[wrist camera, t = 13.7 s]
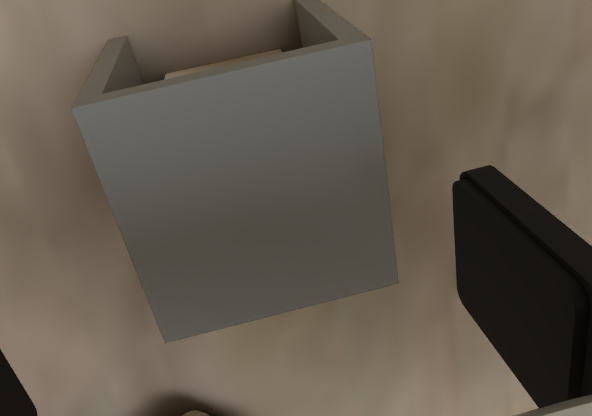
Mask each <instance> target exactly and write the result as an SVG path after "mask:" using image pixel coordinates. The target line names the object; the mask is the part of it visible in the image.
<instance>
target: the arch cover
mask: <svg viewBox="0 0 592 416" xmlns="http://www.w3.org/2000/svg"><path fill="white" fill-rule="evenodd" d="M294 1H295V7H296V13H297V19H298V24H299V30H300V36H301V41H302V47H303V48H300V49H296V50H291V51H287V52H283V53H278V54H274V55H270V56H265V57H261V58H257V59H252V60H248V61H243V62H239V63H235V64H230V65H226V66H222V67H217V68H213V69H209V70H204V71H200V72H195V73H191V74H187V75H182V76H178V77H174V78H169V79H165V80H160V81H156V82H152V83H147V84H143V83H142V80H141V77H140V74H139V71H138V68H137V64H136V61H135V58H134V55H133V52H132V49H131V46H130V43H129V40H128V37H127V36H123V37H118V38H114V39H110V40H108V42H107V44H106V46H105V48H104V49H103V51H102V53H101V55H100V57H99V58H98V60H97V62H96V64H95V66H94V67H93V69H92V71H91V73H90V75H89V77H88V78H87V80H86V82H85V84H84V86H83V87H82V89H81V91H80V93H79V95H78V96H77V98H76V100H75V102H74V104H73V105H72V107H71V110H72V112H73V115H74V117H75V120H76V122H77V125H78V127H79V130H80V132H81V135H82V137H83V140H84V142H85V145H86V147H87V150H88V152H89V155H90V157H91V160H92V162H93V165H94V167H95V170H96V172H97V175H98V177H99V180H100V182H101V185H102V187H103V190H104V192H105V195H106V197H107V200H108V202H109V205H110V207H111V209H112V212H113V214H114V217H115V219H116V222H117V224H118V227H119V229H120V232H121V234H122V237H123V239H124V242H125V244H126V247H127V249H128V252H129V254H130V257H131V259H132V262H133V264H134V267H135V269H136V272H137V274H138V277H139V279H140V282H141V284H142V287H143V289H144V292H145V294H146V297H147V299H148V302H149V304H150V307H151V309H152V312H153V314H154V317H155V319H156V322H157V324H158V327H159V329H160V332H161V334H162V337H163V339H164V342H165V343H168V342H172V341H176V340H180V339H183V338H187V337H191V336H195V335H199V334H203V333H207V332H211V331H215V330H219V329H222V328H226V327H230V326H234V325H238V324H242V323H246V322H250V321H254V320H258V319H261V318H265V317H269V316H273V315H277V314H281V313H285V312H289V311H293V310H297V309H300V308H304V307H308V306H312V305H316V304H320V303H324V302H328V301H332V300H336V299H339V298H343V297H347V296H351V295H355V294H359V293H363V292H367V291H371V290H375V289H378V288H382V287H386V286H390V285H394V284H398V283H399V281H398V273H397V264H396V255H395V246H394V237H393V229H392V220H391V211H390V202H389V193H388V185H387V176H386V167H385V158H384V149H383V141H382V132H381V123H380V114H379V105H378V97H377V88H376V79H375V70H374V62H373V53H372V44H371V39H370V38H368V37H367V36H366V35H364V34H363V33H362V32H361V31H359V30H358V29H357V28H355V27H354V26H353V25H351V24H350V23H349V22H347V21H346V20H345V19H343V18H342V17H341V16H339V15H338V14H337V13H335V12H334V11H333V10H331V9H330V8H329V7H328V6H326V5H325V4H324V3H322V2H321V1H320V0H294Z"/></svg>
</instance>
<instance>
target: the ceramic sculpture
mask: <svg viewBox="0 0 592 416" xmlns="http://www.w3.org/2000/svg"><path fill="white" fill-rule="evenodd" d="M182 416H210V415H208V414H206V413H204V412H200V411H197V410H194V411H190V412H187V413H186V414H184V415H182Z"/></svg>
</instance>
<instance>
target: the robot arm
mask: <svg viewBox="0 0 592 416" xmlns="http://www.w3.org/2000/svg"><path fill="white" fill-rule="evenodd" d="M452 191H453V213H454V234H455V256H456V278H457V290H458V294H459V297H460V300H461V302H462V304H463V305H464V307H465V308H466V309H467V311H468V312H469V313H470V315H471V316H472V318H473V319H474V320H475V322H476V323H477V324H478V326H479V327H480V328H481V330H482V331H483V333H484V334H485V335H486V337H487V338H488V339H489V341H490V342H491V343H492V345H493V346H494V348H495V349H496V350H497V352H498V353H499V354H500V356H501V357H502V358H503V360H504V361H505V362H506V364H507V365H508V367H509V368H510V369H511V371H512V372H513V373H514V375H515V376H516V377H517V379H518V380H519V382H520V383H521V384H522V386H523V387H524V388H525V390H526V391H527V392H528V394H529V395H530V397H531V398H532V399H533V401H534V402H535V403H536V405H537V406H538V407H539V409H535V410H532V411H528V412H525V413H521V414H517V415H514V416H592V246H590V245H589V244H588V243H587V242H586V241H584V240H583V239H582V238H581V237H579V236H578V235H577V234H576V233H574V232H573V231H572V230H571V229H570V228H568V227H567V226H566V225H565V224H563V223H562V222H561V221H560V220H558V219H557V218H556V217H555V216H554V215H552V214H551V213H550V212H549V211H547V210H546V209H545V208H544V207H543V206H541V205H540V204H539V203H538V202H536V201H535V200H534V199H533V198H531V197H530V196H529V195H528V194H527V193H525V192H524V191H523V190H522V189H520V188H519V187H518V186H517V185H515V184H514V183H513V182H512V181H511V180H509V179H508V178H507V177H506V176H504V175H503V174H502V173H501V172H499V171H498V170H497V169H496V168H495V167H493V166H491V165H488V166H484V167H480V168H476V169H473V170H469V171H465V172H462V173H461V175H460V180H459V181H455V182H454V183H453V188H452ZM0 416H38V415H37V411H36V408H35V406H34V404H33V402H32V401H31V399H30V397H29V396H28V394H27V392H26V391H25V389H24V387H23V386H22V384H21V383H20V381H19V379H18V378H17V376H16V374H15V373H14V371H13V369H12V368H11V366H10V364H9V363H8V361H7V360H6V358H5V356H4V355H3V353H2V351H1V350H0Z"/></svg>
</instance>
